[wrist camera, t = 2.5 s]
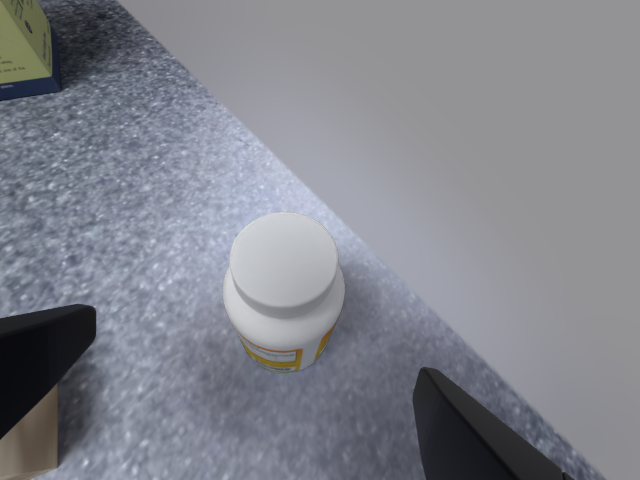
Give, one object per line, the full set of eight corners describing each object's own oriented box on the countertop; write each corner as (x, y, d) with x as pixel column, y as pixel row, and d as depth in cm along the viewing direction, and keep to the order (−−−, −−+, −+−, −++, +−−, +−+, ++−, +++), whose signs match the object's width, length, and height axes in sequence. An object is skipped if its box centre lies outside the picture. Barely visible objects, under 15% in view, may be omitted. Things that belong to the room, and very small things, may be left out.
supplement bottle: (304, 276, 22) (315, 179, 13) (344, 347, 19) (386, 285, 11) (229, 310, 20) (188, 224, 12) (263, 393, 18) (241, 359, 9)
